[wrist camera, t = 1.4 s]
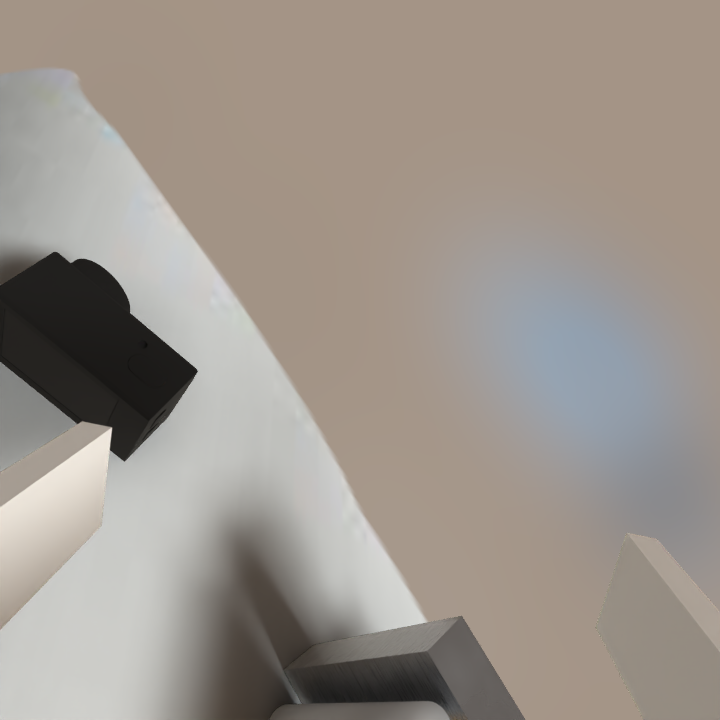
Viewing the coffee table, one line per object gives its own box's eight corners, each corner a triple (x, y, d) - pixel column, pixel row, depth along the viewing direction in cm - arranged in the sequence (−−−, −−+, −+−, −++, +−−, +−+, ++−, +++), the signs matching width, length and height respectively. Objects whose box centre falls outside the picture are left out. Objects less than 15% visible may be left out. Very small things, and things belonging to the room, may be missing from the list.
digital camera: (182, 404, 40) (214, 358, 35) (125, 463, 36) (151, 421, 31) (59, 302, 39) (72, 238, 34) (-12, 352, 35) (-10, 289, 30)
